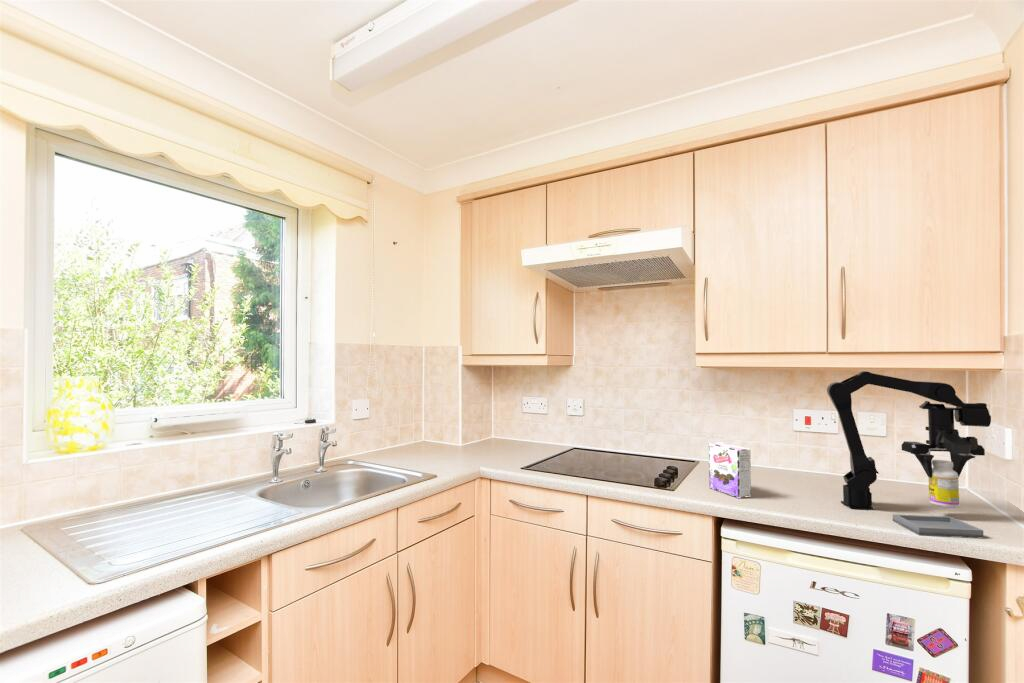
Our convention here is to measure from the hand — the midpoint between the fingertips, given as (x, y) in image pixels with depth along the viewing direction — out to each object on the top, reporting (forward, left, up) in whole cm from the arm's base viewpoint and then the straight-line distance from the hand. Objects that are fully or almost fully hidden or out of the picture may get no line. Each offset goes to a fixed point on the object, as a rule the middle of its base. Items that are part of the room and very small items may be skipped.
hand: (943, 477), depth 141 cm
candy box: (-55, +18, -12) cm, 59 cm away
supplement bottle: (0, 0, -8) cm, 8 cm away
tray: (-10, -12, -11) cm, 19 cm away
